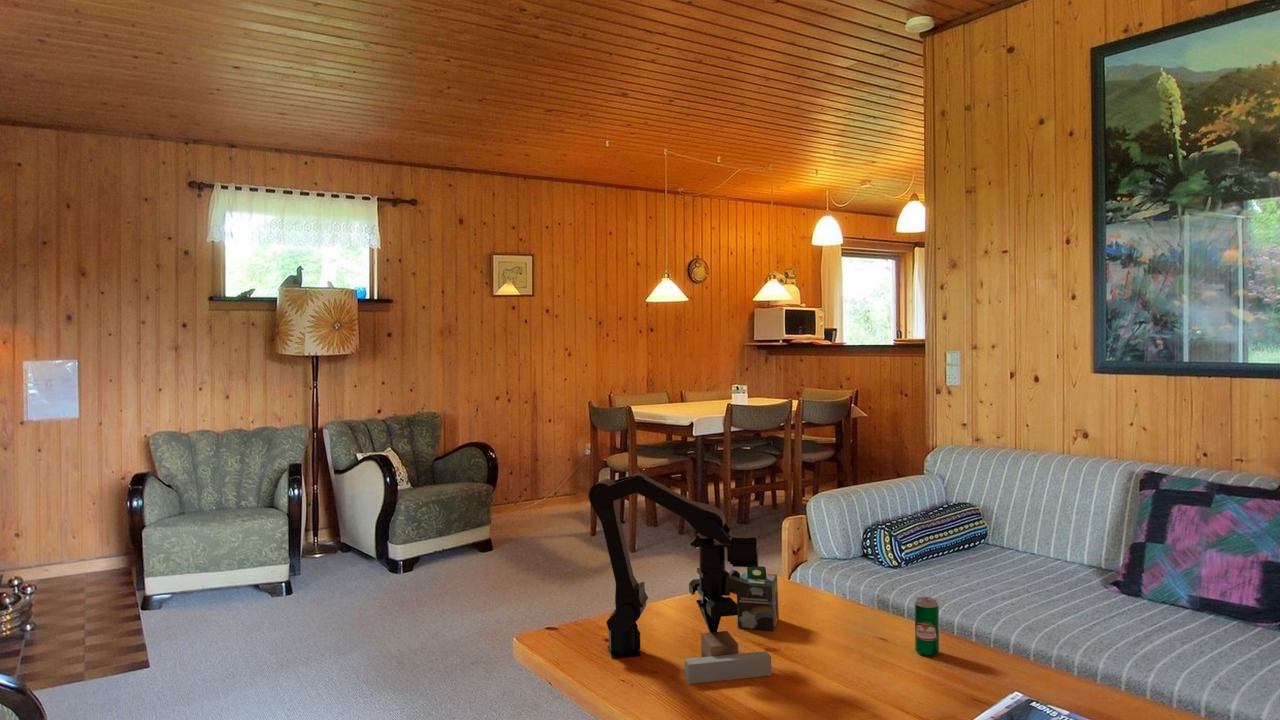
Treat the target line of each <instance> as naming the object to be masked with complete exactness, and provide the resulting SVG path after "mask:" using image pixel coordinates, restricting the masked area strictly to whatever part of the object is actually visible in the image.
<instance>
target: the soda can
mask: <svg viewBox="0 0 1280 720" xmlns="http://www.w3.org/2000/svg"><path fill="white" fill-rule="evenodd" d="M939 605H940V604H938V601H937V599H936V598H933V597H929V596H920V597H916V601H915V602H914V649H915V651H916V653H917V654H918V653H919V654H918V655H920V654H921V655H920V656H923V655H924V656H923V657H928V656H932V657H936V656H938V654H939V653H940V612H939V611H940V606H939Z"/></svg>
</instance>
